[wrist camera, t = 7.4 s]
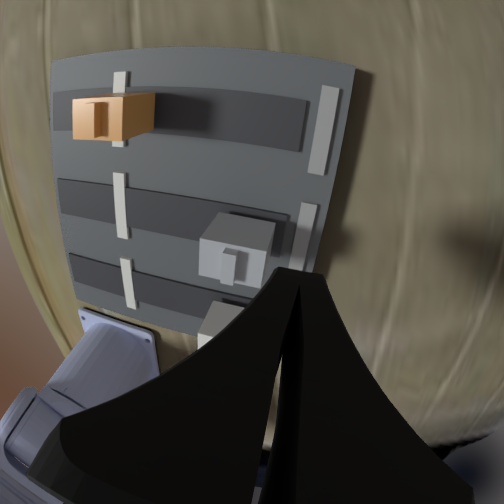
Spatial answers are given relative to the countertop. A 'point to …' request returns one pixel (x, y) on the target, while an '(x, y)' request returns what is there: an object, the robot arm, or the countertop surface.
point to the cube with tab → (216, 320)
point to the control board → (193, 171)
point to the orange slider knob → (113, 116)
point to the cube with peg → (236, 249)
